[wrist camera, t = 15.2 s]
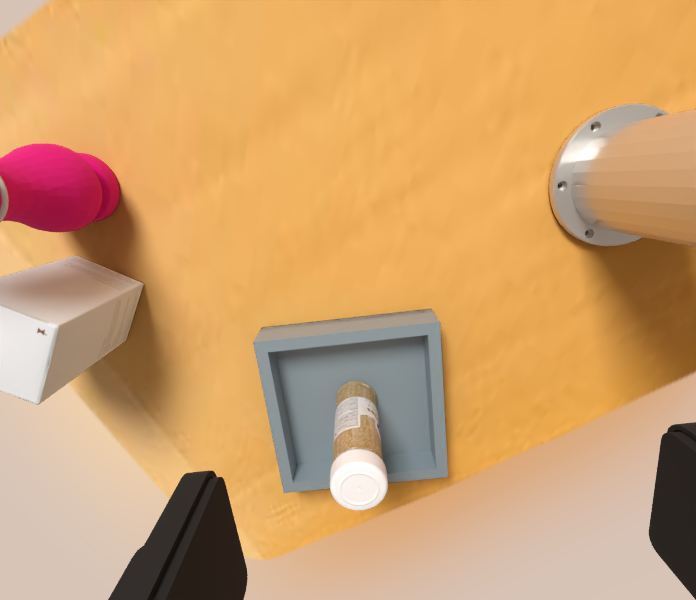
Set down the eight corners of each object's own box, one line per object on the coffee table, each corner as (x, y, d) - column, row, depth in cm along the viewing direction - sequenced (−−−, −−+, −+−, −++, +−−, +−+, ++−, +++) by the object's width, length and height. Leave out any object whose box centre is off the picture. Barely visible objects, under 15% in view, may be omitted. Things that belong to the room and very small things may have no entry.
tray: (431, 308, 41) (439, 321, 37) (439, 452, 46) (448, 477, 43) (261, 327, 42) (253, 342, 38) (289, 467, 47) (283, 492, 43)
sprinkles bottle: (383, 406, 43) (398, 501, 31) (345, 421, 44) (345, 521, 31) (366, 372, 42) (373, 456, 29) (327, 388, 43) (319, 478, 30)
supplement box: (75, 252, 39) (-46, 284, 27) (146, 283, 40) (60, 327, 28) (57, 315, 41) (-62, 371, 29) (126, 343, 42) (38, 408, 30)
